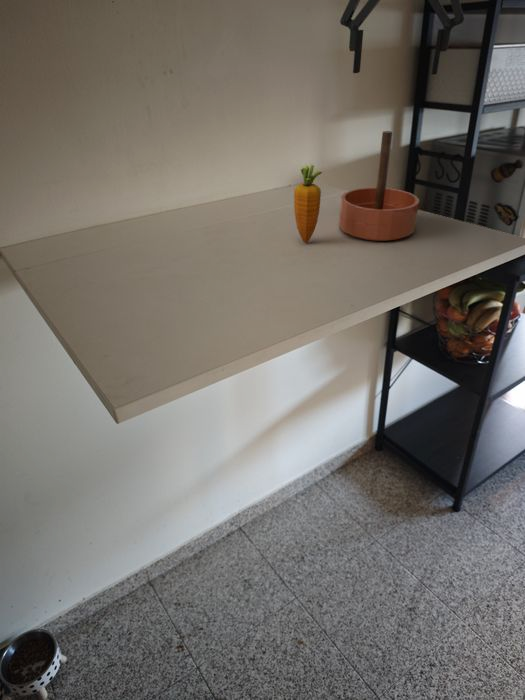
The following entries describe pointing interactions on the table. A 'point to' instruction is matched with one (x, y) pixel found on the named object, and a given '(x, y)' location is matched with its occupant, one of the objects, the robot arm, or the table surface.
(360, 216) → the bowl
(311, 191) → the carrot
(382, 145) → the dark brown rod
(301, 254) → the table surface
